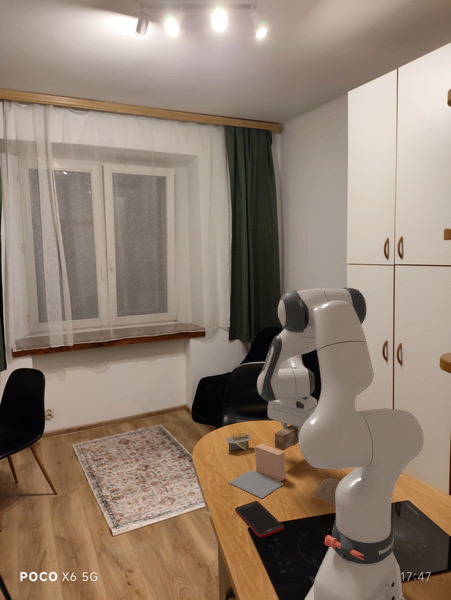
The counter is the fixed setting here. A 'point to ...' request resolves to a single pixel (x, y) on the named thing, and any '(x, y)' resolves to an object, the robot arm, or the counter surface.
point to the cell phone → (259, 519)
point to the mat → (256, 484)
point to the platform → (238, 441)
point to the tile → (270, 462)
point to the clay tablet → (327, 490)
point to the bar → (286, 437)
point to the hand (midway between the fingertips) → (293, 436)
